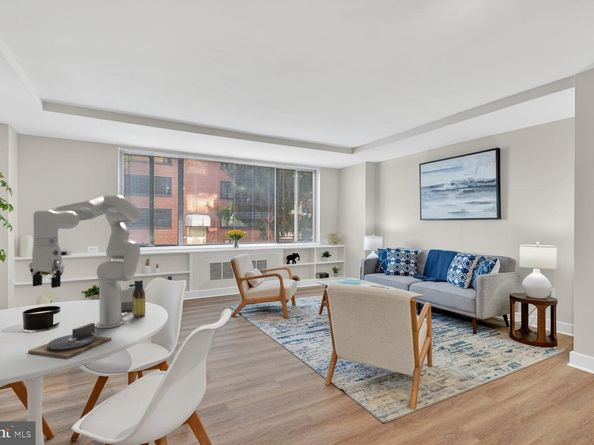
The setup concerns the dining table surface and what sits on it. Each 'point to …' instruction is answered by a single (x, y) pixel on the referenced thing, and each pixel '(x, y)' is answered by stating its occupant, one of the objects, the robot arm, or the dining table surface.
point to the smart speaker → (127, 299)
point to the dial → (74, 338)
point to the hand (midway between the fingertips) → (46, 286)
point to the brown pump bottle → (138, 299)
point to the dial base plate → (68, 353)
